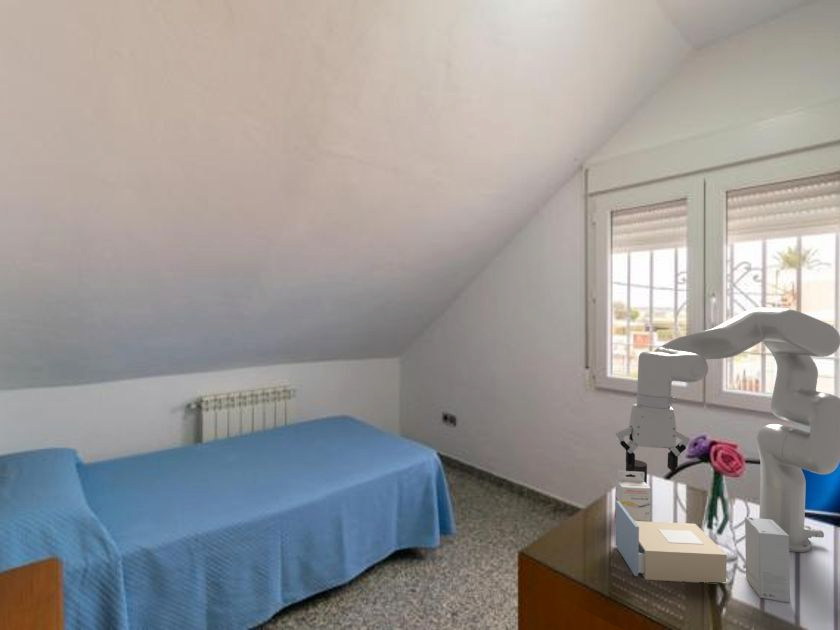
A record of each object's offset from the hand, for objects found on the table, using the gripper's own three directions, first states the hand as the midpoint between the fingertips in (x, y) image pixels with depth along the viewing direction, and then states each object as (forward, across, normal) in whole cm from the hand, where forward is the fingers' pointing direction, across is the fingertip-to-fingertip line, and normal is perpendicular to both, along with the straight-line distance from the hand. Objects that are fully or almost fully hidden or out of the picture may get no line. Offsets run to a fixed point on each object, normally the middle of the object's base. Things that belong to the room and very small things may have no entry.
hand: (651, 468), depth 110 cm
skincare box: (+24, -23, +8) cm, 34 cm away
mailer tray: (+23, -3, 0) cm, 23 cm away
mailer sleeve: (+24, -6, 0) cm, 24 cm away
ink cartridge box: (+24, -3, -20) cm, 31 cm away
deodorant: (+24, -6, -28) cm, 37 cm away
